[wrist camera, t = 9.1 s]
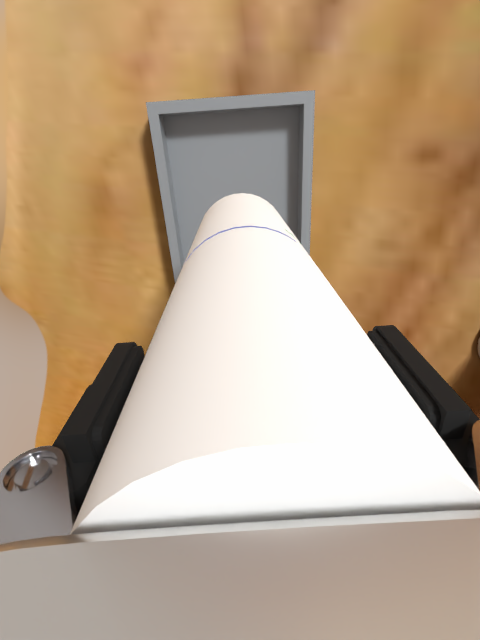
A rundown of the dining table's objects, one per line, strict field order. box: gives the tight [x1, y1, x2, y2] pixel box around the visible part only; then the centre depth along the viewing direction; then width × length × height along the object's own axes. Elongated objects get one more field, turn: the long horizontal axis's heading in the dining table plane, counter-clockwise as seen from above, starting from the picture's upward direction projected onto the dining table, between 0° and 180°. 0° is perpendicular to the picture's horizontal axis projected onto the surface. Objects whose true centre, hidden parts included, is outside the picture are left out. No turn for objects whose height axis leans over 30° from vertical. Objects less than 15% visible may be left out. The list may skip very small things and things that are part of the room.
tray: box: [146, 90, 315, 283], centre depth 38 cm, size 16×22×4 cm
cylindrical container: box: [70, 193, 480, 535], centre depth 17 cm, size 7×7×25 cm
